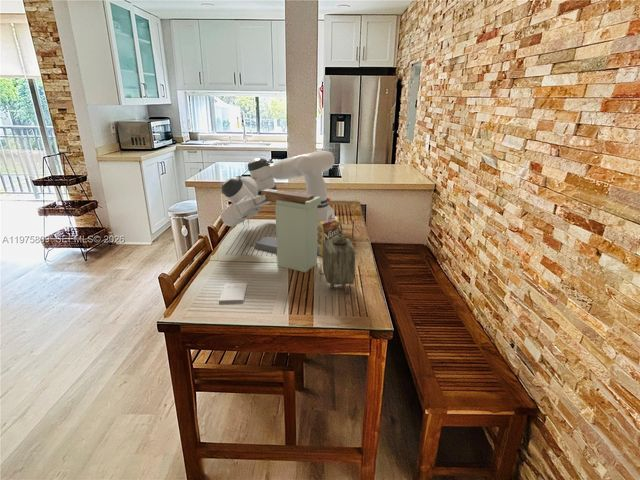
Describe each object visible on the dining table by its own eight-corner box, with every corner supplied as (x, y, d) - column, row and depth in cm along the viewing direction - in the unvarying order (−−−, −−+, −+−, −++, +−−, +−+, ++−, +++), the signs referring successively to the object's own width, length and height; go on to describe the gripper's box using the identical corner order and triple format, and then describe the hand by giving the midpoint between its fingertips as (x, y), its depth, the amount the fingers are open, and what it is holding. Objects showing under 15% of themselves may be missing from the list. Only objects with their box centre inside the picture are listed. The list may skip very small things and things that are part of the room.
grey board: (266, 241, 179) (266, 236, 179) (317, 252, 167) (317, 247, 166) (255, 247, 172) (254, 242, 171) (307, 259, 160) (307, 254, 159)
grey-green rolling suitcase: (353, 296, 131) (356, 229, 122) (328, 298, 129) (329, 230, 120) (345, 277, 144) (347, 216, 135) (322, 279, 143) (322, 217, 134)
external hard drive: (219, 304, 126) (225, 286, 138) (243, 303, 127) (247, 286, 138) (218, 300, 125) (224, 283, 137) (243, 299, 126) (247, 282, 138)
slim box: (267, 198, 154) (266, 188, 153) (313, 205, 144) (313, 195, 143) (261, 200, 151) (261, 190, 149) (308, 207, 141) (308, 197, 140)
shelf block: (289, 257, 162) (288, 192, 151) (320, 264, 155) (320, 196, 145) (277, 265, 154) (275, 197, 144) (308, 273, 148) (308, 202, 137)
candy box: (321, 256, 163) (322, 223, 157) (316, 253, 166) (316, 220, 161) (338, 252, 168) (339, 220, 162) (332, 249, 171) (333, 217, 165)
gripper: (267, 207, 167) (289, 196, 159) (236, 219, 150) (260, 207, 142) (260, 194, 166) (282, 182, 158) (229, 205, 149) (252, 192, 141)
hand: (271, 194), depth 150 cm, fingers open, 7 cm apart
